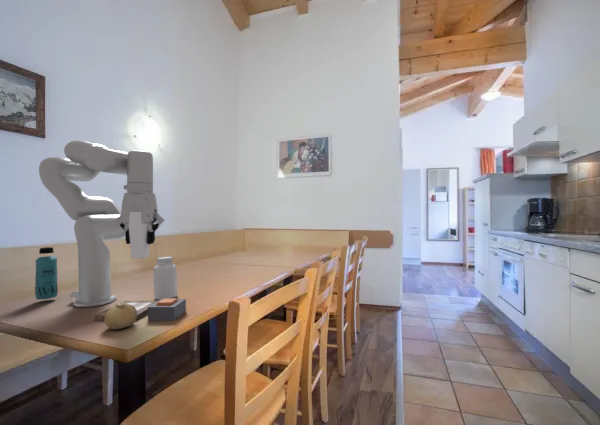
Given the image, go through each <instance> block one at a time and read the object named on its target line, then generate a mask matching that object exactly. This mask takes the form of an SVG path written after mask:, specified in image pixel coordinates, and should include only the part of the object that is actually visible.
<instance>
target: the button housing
mask: <svg viewBox="0 0 600 425" xmlns="http://www.w3.org/2000/svg"><path fill="white" fill-rule="evenodd" d="M161 300H162V299H161ZM161 300H159V301H161ZM159 301H158V302H159ZM186 306H187V302H186V299H184V298H180V299H179V298H177V302H176V303H175V304H173V305H164V306H157V302H156V303H154V304H152V305H151V306H149V307H148V314H147V321H148V322H149V321H153V322H154V321H155V322H156V321H158V322H159V321H161V322H162V321H166V322H167V321H168V322H169V321H171V322H172V321H176V320H177V319H178V318H180V317H181V316H183V314H185V313H186V312H187V307H186Z"/></svg>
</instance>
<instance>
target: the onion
mask: <svg viewBox="0 0 600 425" xmlns="http://www.w3.org/2000/svg"><path fill="white" fill-rule="evenodd" d="M121 303H122V302H121ZM110 308H111V307H110ZM108 309H109V308H108ZM136 318H137V310H136V308H135V307H134V306H132V305H130V304H127V303H122V304H120V303H116V304H115V305H114V306H112V308H111V309H109V310H108V312H107V313H106V315H105V319H104V320H103V321H104V324H105V325H106V327H107V328H108V329H109V330H120V329H125V328H128V327H131V326H132V325H134V324H135V322H136V321H137V320H136Z"/></svg>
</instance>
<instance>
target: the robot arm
mask: <svg viewBox="0 0 600 425" xmlns="http://www.w3.org/2000/svg"><path fill="white" fill-rule="evenodd" d="M63 152H64V156H65V157H61V156H60V157H58V156H53V157H51V156H50V157H47V158H44V159H42V160H41V162H40V164H39V165H38V172H39V177H40V180H41V183H42V184H43V187H45V189H46V190H47V191H49V193H50V194H51V195H52V196H54V198H55V199H56V200H57V201H58V203H59V205H60V206H61V207H62V209H63V210H64V211H65V213H66V214H67V216H68V217H69V219H71V220H73V221H74V222H75V223H74V225H73V226H74V227H73V231H74V235H75V240H76V245H77V258H78V260H77V261H78V262H77V263H78V264H77V265H78V290H72V292H71V293H70V294H69V297H70V298H75V300H74V302H73V306H74V307H77V308H90V307H96V306H103V305H107V304H110V303H112V302H115V300H116V299H117V296H116V295H115V294H112V293H111V292H112V290H111V288H112V286H111V282H112V280H111V253H110V249H109V248H108V246H107V245H106V243H105V242H104V241H111V240H119V239H120V240H121V239H123V238H124V239H125V244H126V245H130V237H129V227H128V223H129V216H130V212H141V223H143V224H146V223H147V227H148V230H149V232H147V244H150V245H151V244H152V245H153V244H154V242H155V241H156V232H157V230H158V229H159V228H160V227H161V226H162V225H163V224H164V222H165V218H163V217H162V216H161V215H160V214H159V213H158V211H159V210H158V202H157V197H156V194H155V192H154V156H153V153H151V152H150V151H146V150H139V149H138V150H137V149H136V150H135V149H133V150H130V151H128V152H126V151H122V150H114V149H109V148H108V147H107V146H105V145H103V144H100V143H93V142H89V141H84V140H72V141H70V142H68V143H67V144H65V146H64V150H63ZM101 172H102V173H107V174H118V175H124V176H126V185H125V184H124V185H123V190H126V192H124V194H123V197H122V202H121V208H119V207H118V206H117V205H116V204H115V202H114V201H113V200H112V199H110V198H109V197H106V196H105V197H104V196H94V195H93V196H92V195H91V196H90V195H87V194H86V193H85V192H84V191H83V189H82V188H81V187H80V186H79V185H77V184H76V183H75V182H90V181H92V180H94V179H95V178H96V177H97V176H98V175H99V174H100V173H101ZM73 181H74V182H73Z"/></svg>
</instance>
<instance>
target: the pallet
mask: <svg viewBox="0 0 600 425" xmlns="http://www.w3.org/2000/svg"><path fill="white" fill-rule="evenodd" d="M158 301H159V300H158V299H156V300H124V301H123V302H120V303H119V304H122V303H127V304H130V305H132V306H134V307H135V308H136V310H137V318H136V321H139V320H140V319H141V318H143V317H144V316H146V315H147V316H148V307H149V306H151V305H152V304H154V303H156V302H158ZM112 307H113V306H112ZM112 307H110V308H107V309H105V310H103V311H101V312H99V313H97V314H95V315H94V320H95V321H104V319H105V315H106V313H107V312H108V310H109V309H111V308H112Z"/></svg>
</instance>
